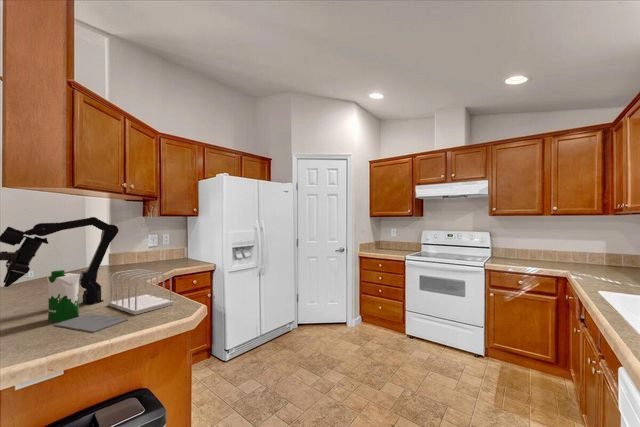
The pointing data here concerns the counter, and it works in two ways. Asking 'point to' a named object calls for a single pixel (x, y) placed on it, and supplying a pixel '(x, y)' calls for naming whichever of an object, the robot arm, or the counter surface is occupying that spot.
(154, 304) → the file sorter
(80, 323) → the mat
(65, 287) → the soya milk
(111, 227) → the robot arm
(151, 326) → the counter surface
